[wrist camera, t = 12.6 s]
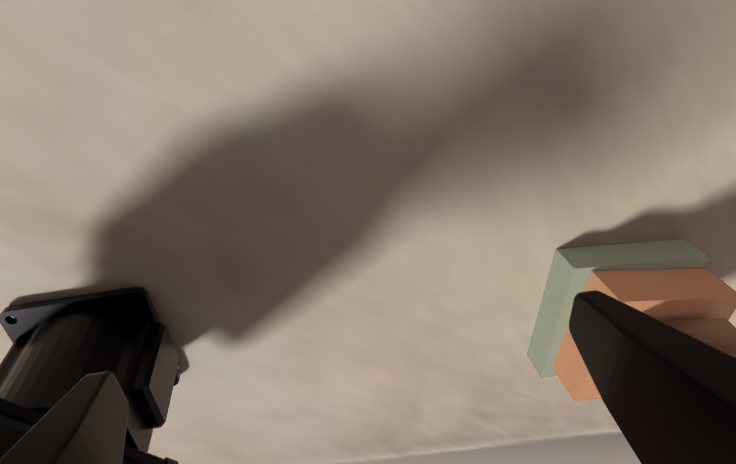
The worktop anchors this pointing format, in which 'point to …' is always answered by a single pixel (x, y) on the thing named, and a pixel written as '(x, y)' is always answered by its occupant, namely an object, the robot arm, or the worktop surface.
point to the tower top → (647, 310)
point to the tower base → (573, 275)
